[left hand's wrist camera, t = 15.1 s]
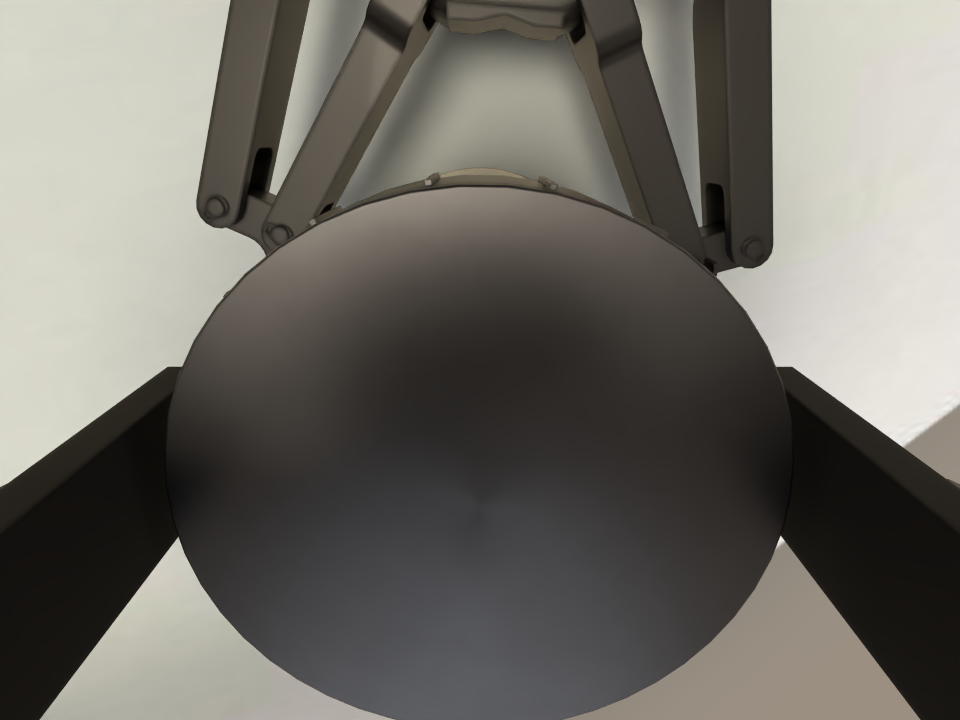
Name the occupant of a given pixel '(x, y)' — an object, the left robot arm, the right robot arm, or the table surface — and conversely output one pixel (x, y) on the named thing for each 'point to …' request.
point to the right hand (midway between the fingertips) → (470, 445)
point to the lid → (479, 453)
